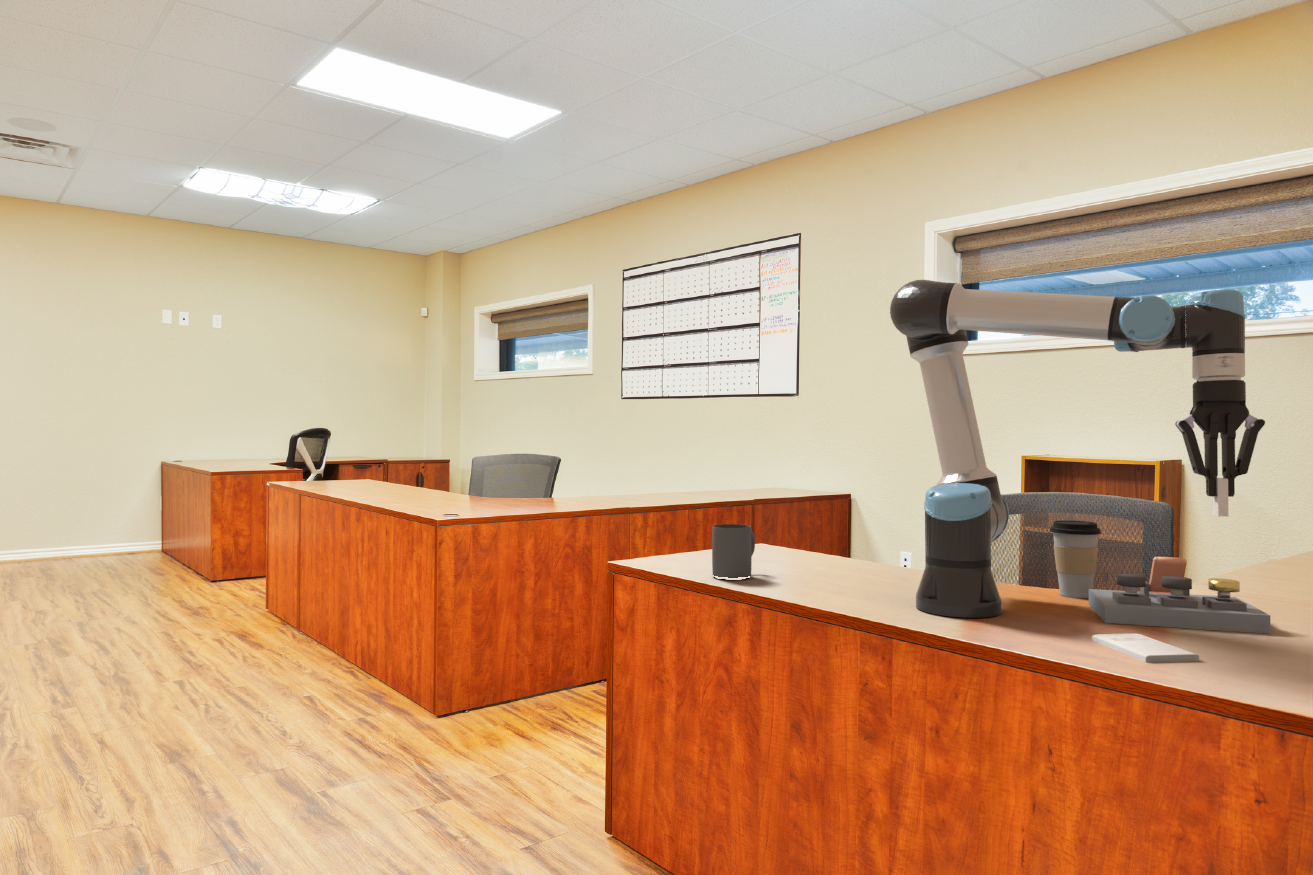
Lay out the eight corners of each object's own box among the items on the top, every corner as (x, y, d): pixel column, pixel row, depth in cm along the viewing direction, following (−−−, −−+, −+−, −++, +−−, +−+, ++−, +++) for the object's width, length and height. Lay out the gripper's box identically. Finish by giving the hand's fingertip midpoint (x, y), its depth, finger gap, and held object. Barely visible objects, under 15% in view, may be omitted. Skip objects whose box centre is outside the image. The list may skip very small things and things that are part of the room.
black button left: (1119, 593, 139) (1119, 577, 139) (1114, 589, 144) (1114, 573, 144) (1148, 595, 138) (1148, 578, 138) (1142, 590, 142) (1142, 574, 142)
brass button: (1213, 598, 135) (1213, 581, 135) (1204, 594, 139) (1204, 577, 139) (1243, 600, 133) (1243, 583, 133) (1234, 595, 137) (1234, 579, 137)
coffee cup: (1108, 600, 156) (1108, 525, 156) (1057, 599, 158) (1056, 524, 158) (1092, 591, 165) (1092, 520, 165) (1043, 590, 167) (1043, 519, 167)
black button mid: (1165, 596, 137) (1165, 579, 137) (1159, 591, 141) (1158, 575, 141) (1195, 597, 136) (1195, 581, 136) (1187, 593, 140) (1187, 576, 140)
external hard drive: (1145, 666, 114) (1091, 643, 126) (1199, 665, 114) (1140, 642, 127) (1145, 655, 114) (1091, 633, 126) (1199, 653, 114) (1140, 632, 127)
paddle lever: (1148, 591, 146) (1154, 559, 143) (1147, 587, 147) (1152, 555, 143) (1181, 593, 145) (1188, 560, 141) (1179, 589, 146) (1186, 556, 142)
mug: (736, 582, 177) (736, 529, 177) (704, 577, 183) (704, 526, 183) (769, 574, 187) (769, 524, 187) (738, 570, 194) (738, 521, 194)
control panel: (1105, 622, 138) (1105, 591, 138) (1088, 604, 153) (1088, 576, 153) (1270, 633, 130) (1270, 600, 130) (1235, 613, 145) (1235, 583, 145)
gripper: (1182, 379, 135) (1184, 516, 135) (1272, 377, 131) (1274, 518, 131) (1168, 382, 143) (1170, 513, 143) (1254, 380, 139) (1256, 514, 138)
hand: (1220, 515), depth 137 cm, fingers closed
